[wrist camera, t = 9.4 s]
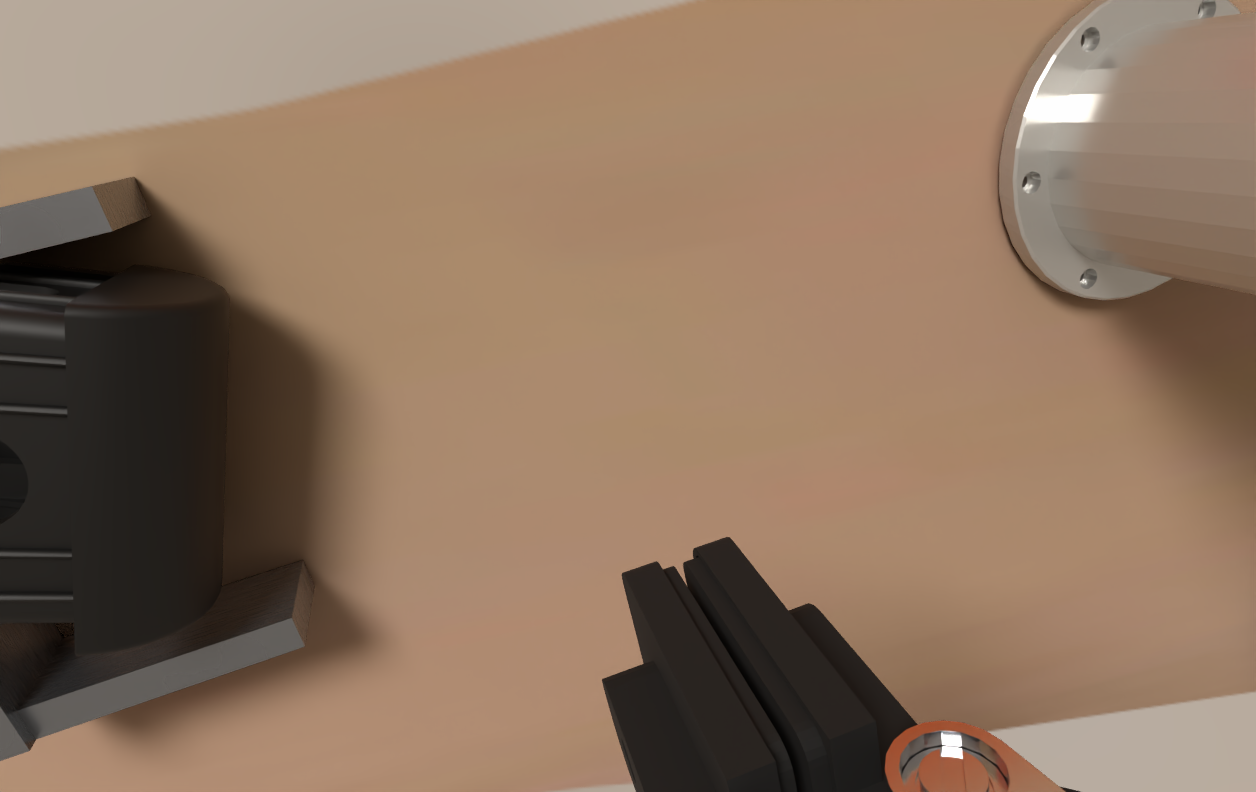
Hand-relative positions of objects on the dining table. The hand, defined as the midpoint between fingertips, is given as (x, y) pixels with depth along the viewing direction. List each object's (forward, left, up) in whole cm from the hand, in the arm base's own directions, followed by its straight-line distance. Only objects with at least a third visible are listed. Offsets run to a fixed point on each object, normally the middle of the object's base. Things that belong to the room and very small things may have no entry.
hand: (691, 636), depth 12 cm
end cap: (+13, -1, -19) cm, 23 cm away
